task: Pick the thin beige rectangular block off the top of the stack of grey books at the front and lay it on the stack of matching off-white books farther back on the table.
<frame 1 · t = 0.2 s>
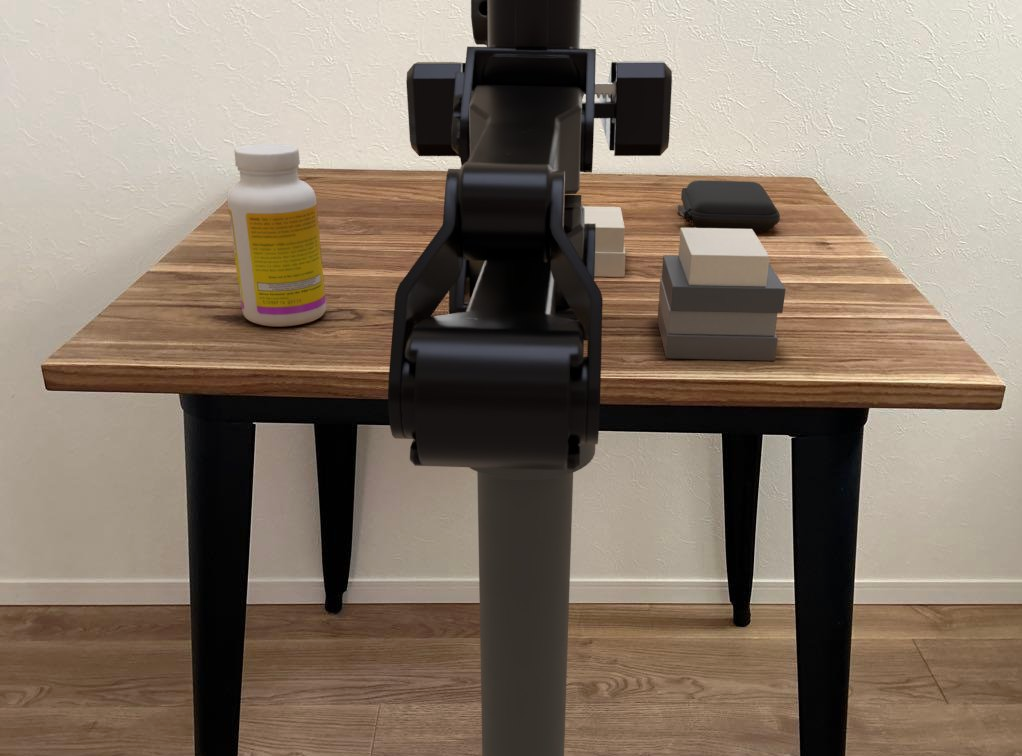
hand: (543, 98, 83), 16 cm above the table, tool horizontal, fingers open, 9 cm apart
carrying case: (722, 221, 117), on the table
grey books: (713, 340, 81), on the table
beige rectangular block: (720, 270, 78), point 5 cm above the table, touching grey books
supplement bottle: (285, 318, 85), on the table
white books: (590, 263, 100), on the table
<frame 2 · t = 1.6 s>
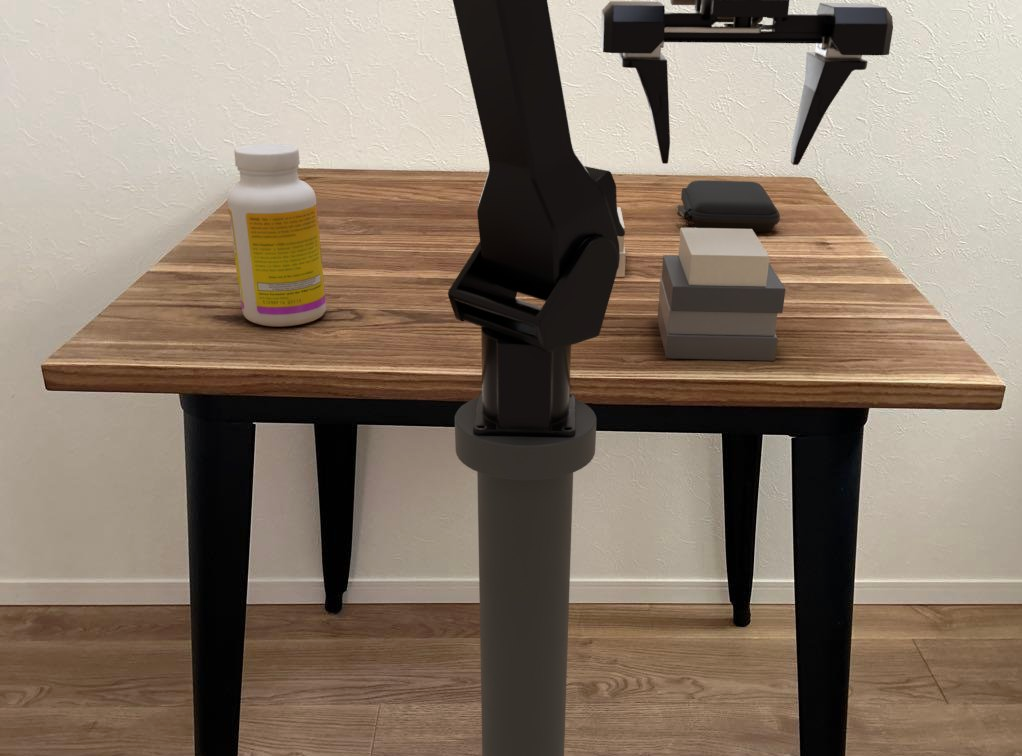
hand: (729, 163, 75), 13 cm above the table, tool pointing down, fingers open, 9 cm apart
nothing on the table moved.
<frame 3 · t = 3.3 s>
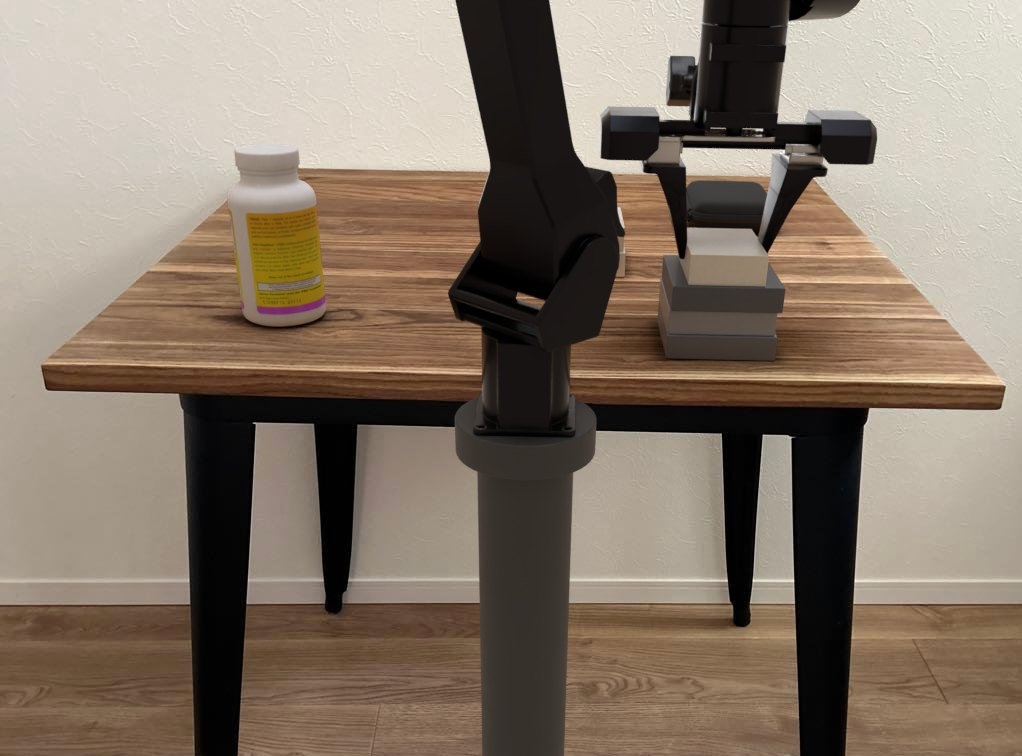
hand: (721, 258, 78), 6 cm above the table, tool pointing down, fingers closed on beige rectangular block, 5 cm apart
beige rectangular block: (719, 270, 78), point 5 cm above the table, touching grey books, gripper
everything else where it was.
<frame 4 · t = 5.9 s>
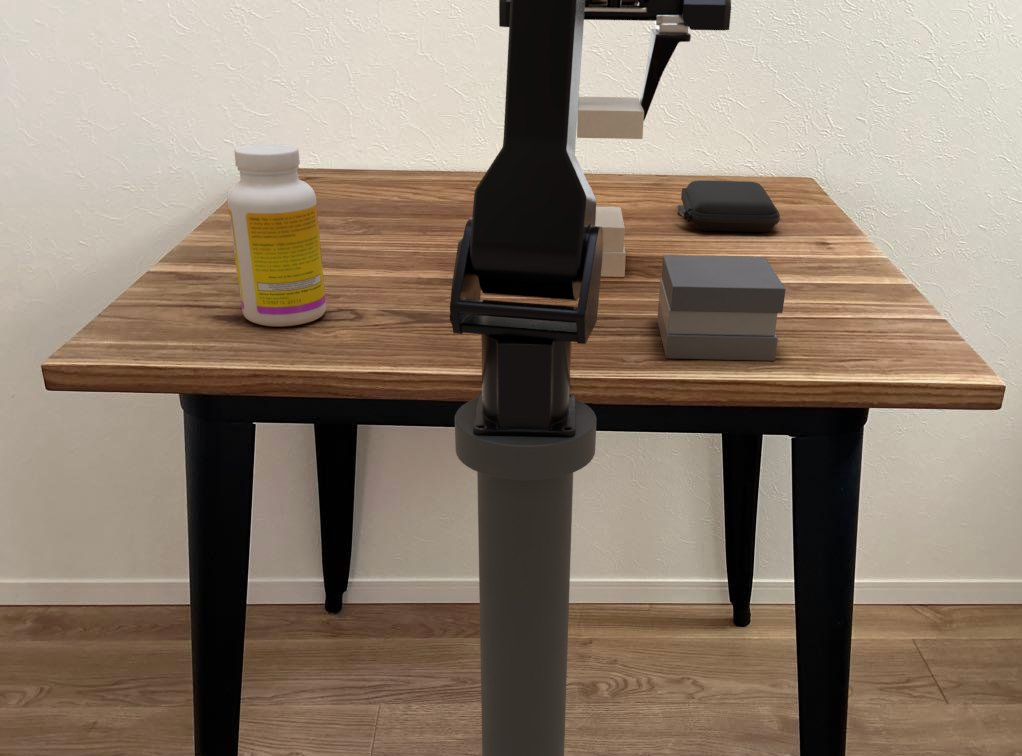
hand: (608, 119, 91), 13 cm above the table, tool pointing down, fingers closed on beige rectangular block, 5 cm apart
beige rectangular block: (608, 130, 92), point 12 cm above the table, touching gripper
everything else where it was.
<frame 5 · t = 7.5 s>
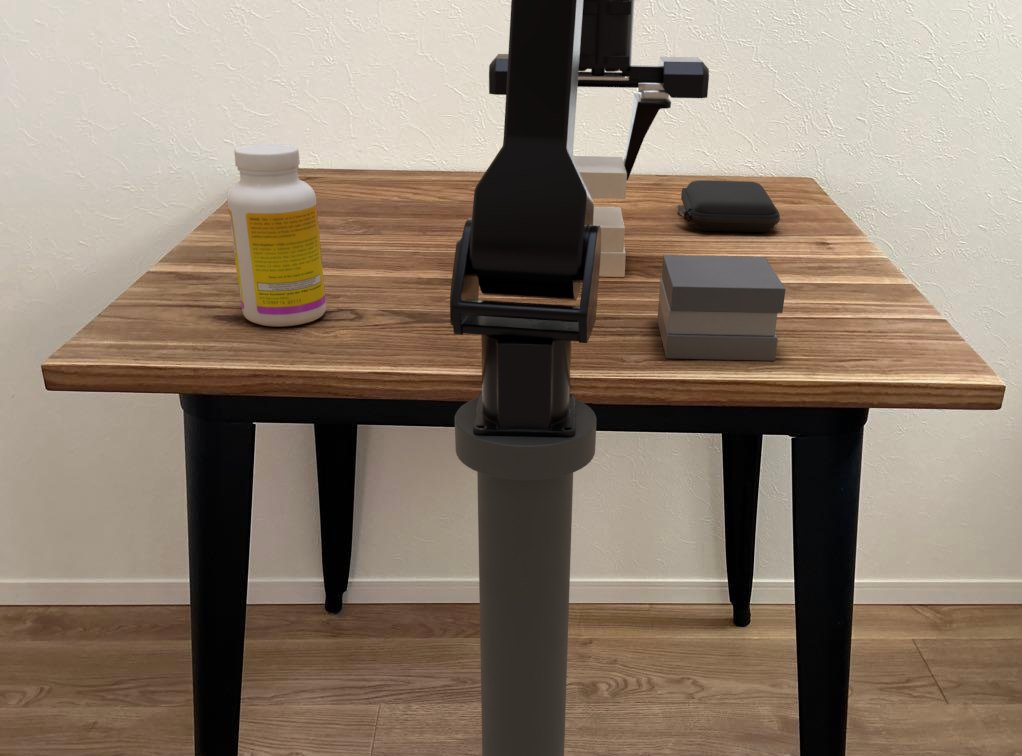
hand: (593, 179, 96), 8 cm above the table, tool pointing down, fingers closed on beige rectangular block, 5 cm apart
beige rectangular block: (593, 189, 96), point 7 cm above the table, touching gripper
everything else where it was.
when the fingers open (5 cm above the table, at t = 8.7 s): beige rectangular block stays where it is, resting on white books.
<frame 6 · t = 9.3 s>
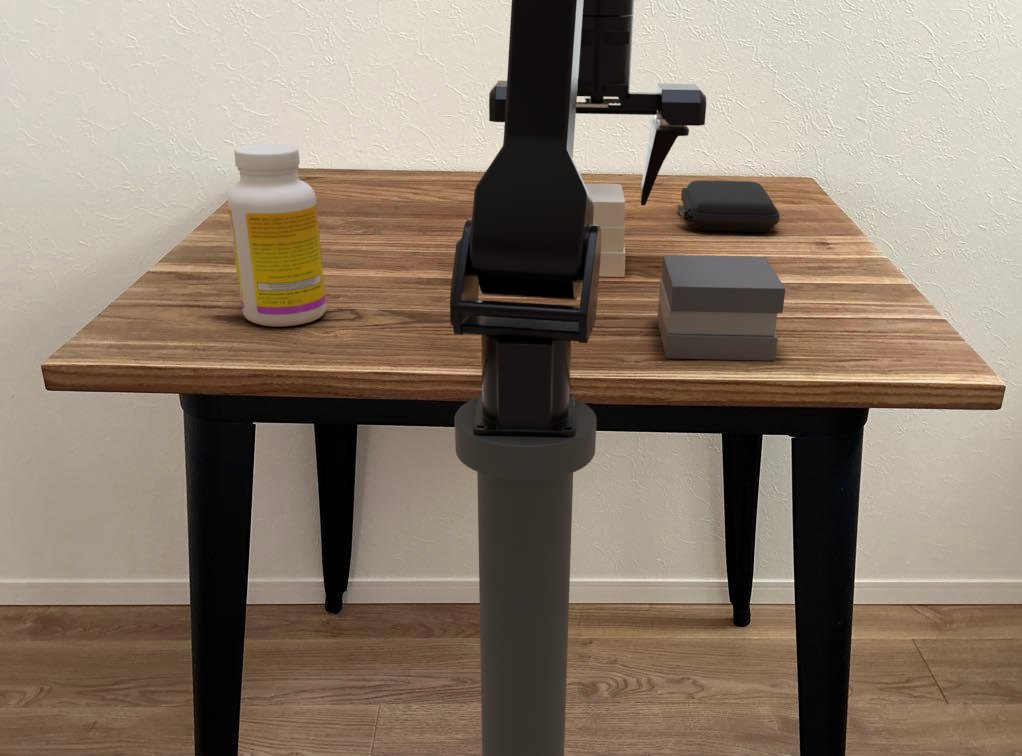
hand: (592, 203, 97), 6 cm above the table, tool pointing down, fingers open, 9 cm apart
beige rectangular block: (592, 216, 98), point 4 cm above the table, touching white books
everything else where it was.
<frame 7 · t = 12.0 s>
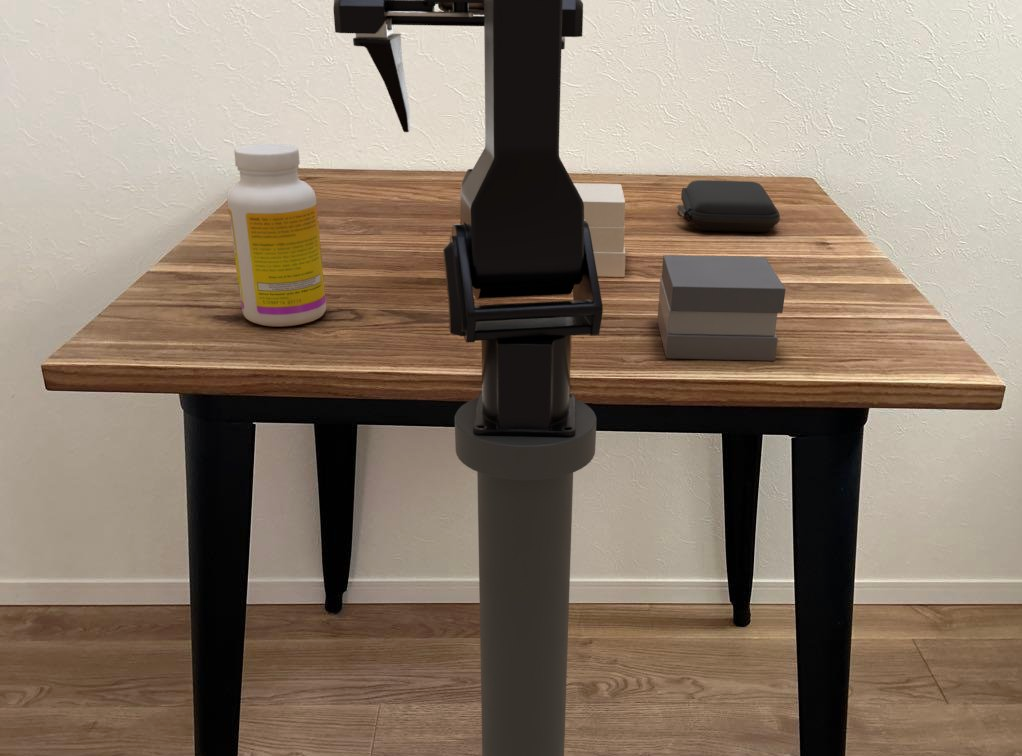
hand: (463, 132, 85), 13 cm above the table, tool pointing down, fingers open, 9 cm apart
nothing on the table moved.
at the end: beige rectangular block 0.0 cm off-centre on the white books, point 4.4 cm above the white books's base; beige rectangular block touching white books; beige rectangular block tilted 0° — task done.
